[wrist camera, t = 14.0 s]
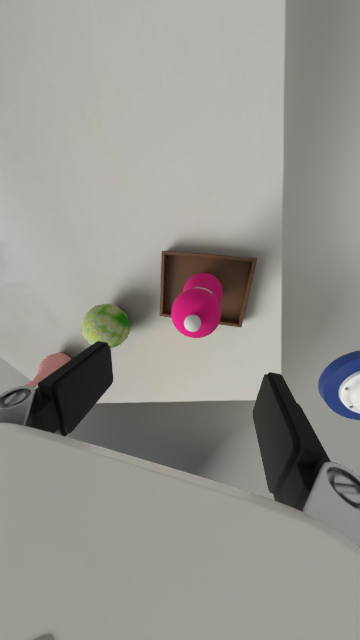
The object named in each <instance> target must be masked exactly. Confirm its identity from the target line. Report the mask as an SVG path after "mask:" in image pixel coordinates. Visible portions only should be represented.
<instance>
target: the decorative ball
mask: <svg viewBox="0 0 360 640" xmlns="http://www.w3.org/2000/svg"><path fill="white" fill-rule="evenodd" d="M129 332H130V322H129V319H128V316H127V314H126V313H125V312H124V311H123V310H121V309H120V308H119V307H117V306H115V305H111V304H102V305H98V306H95V307H94V308H93V309H91V310H90V311H89V312H87V314H86V315H85V317H84V318H83V323H82V333H83V336H84V338H85V339H86V340H87V341H88V342H89V343H90V344H91V345H93V344H94V343H95V342H97V341H101V342H107V343H108V345H109V346H110V348H113V347H115V346H118V345H119V344H121V343H122V342H123V341H124V340H125V339H126V338H127V337H128V334H129Z"/></svg>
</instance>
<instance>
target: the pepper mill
mask: <svg viewBox="0 0 360 640" xmlns="http://www.w3.org/2000/svg"><path fill="white" fill-rule="evenodd" d="M222 296H223V289H222V285H221V283H220V281H219V280H218V279H217V278H216V277H215V276H213V275H211V274H208V273H198V274H195V275H193V276H192V277H190V278H189V279H188V281H187V282H186V284H185V286H184V288H183V292H182V293H181V294H180V295H179V296H178V297H177V298H176V299H175V301H174V303H173V306H172V310H171V316H172V321H173V323H174V325H175V327H176V328H177V330H178V331H179V332H181V333H182V334H184V335H186V336H188V337H193V338H200V337H204V336H207V335H209V334H210V333H212V332H213V331H214V330H215V329H216V328H217V326H218V324H219V322H220V318H221V307H220V302H221V300H222Z"/></svg>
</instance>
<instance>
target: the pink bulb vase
mask: <svg viewBox="0 0 360 640" xmlns="http://www.w3.org/2000/svg"><path fill="white" fill-rule="evenodd" d="M70 360H71V359H70V357H69V356H67V355H66V354H64V353H56V354H53V355H50V356H47V357H46V358H45V359H44V360H43V361H42V362H41V363H40V365H39V370H38V373H37V375H36V377H35V378H34V380H33V381H31V382H30V383H28V384H27V385H25V386H32V387H35V386H36V385H38V383H39V382H40V381H41V380H43V379H44V378H46V377H47V376H49V375H50V374H51V373H53V372H54V371H56V370H57V369H59V368H60V367H61V366H63V365H64V364H66V363H67V362H68V361H70Z"/></svg>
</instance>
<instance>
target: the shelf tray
mask: <svg viewBox="0 0 360 640" xmlns="http://www.w3.org/2000/svg"><path fill="white" fill-rule="evenodd" d="M256 261H257V258H247V257H234V256H222V255H209V254H197V253H184V252H172V251H162V265H161V297H160V316H164V317H172V316H171V310H172V306H173V303H174V301H175V299H176V298H177V297H178V296H179V295H180V294H181V293H182V292H183V288H184V286H185V284H186V282H187V281H188V279H189V278H190V277H192V276H193V275H195V274H198V273H208V274H211V275H213V276H215V277H216V278H217V279H218V280H219V281H220V283H221V285H222V289H223V296H222V300H221V302H220V307H221V318H220V322H219V324H221V325H228V326H236V327H241V326H242V322H243V318H244V313H245V309H246V305H247V300H248V296H249V291H250V287H251V283H252V278H253V274H254V270H255V265H256Z"/></svg>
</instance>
